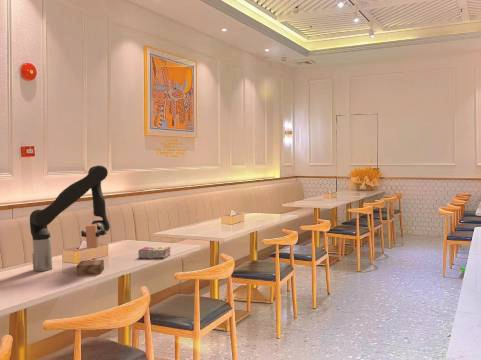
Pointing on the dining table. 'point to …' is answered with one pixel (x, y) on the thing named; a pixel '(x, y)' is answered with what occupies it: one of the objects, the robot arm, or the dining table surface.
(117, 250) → the dining table surface
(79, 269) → the walnut block
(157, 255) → the candy bar box
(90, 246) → the terracotta block
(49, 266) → the robot arm
